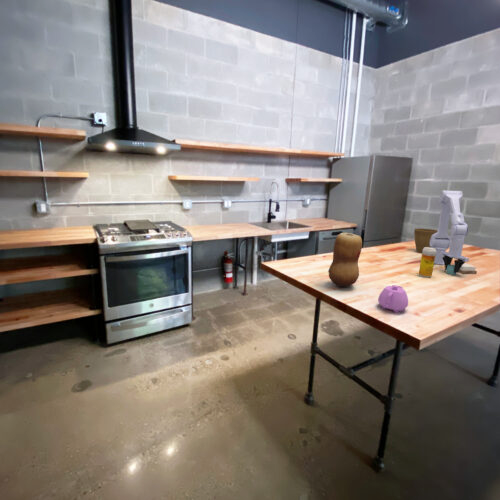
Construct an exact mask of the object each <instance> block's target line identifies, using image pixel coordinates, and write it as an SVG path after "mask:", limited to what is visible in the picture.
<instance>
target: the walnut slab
mask: <svg viewBox="0 0 500 500" xmlns="http://www.w3.org/2000/svg"><path fill="white" fill-rule="evenodd" d="M477 273H478V271H477V270H475V271H462V270H459V271H458V274H461V275H477Z"/></svg>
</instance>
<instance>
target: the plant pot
mask: <svg viewBox="0 0 500 500" xmlns="http://www.w3.org/2000/svg"><path fill="white" fill-rule="evenodd" d="M413 231H414V232H413V233H414V242H415V243H414V245H415V249H416V252H417V253H419V254H422V251H423V249H424V247H430V248H431V246H430V239H431V236H432V235H433V234H435V233H437V231H438V229H433V228H432V229H431V228H414V230H413Z"/></svg>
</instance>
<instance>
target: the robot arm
mask: <svg viewBox="0 0 500 500" xmlns="http://www.w3.org/2000/svg"><path fill="white" fill-rule="evenodd" d="M463 196H464V194H463V191H462V190H445V189H443V190H442V191H441V192H440V194H439V197H438V204H439V205H440V214H439V220H438V226H437V233H435V234H433V235H432V236H431V239H430V246H431V248H435V249H436V256H435V261H434V265H443V266H444V270H445V271H446V270H447V265H448V264H451V263H452V262H453V259H455V260H454V263H455V268H454V273H456V274H457V273H458V274H459V272H458V271H459V270H460V268H461V266H462V265H463V264H464V263H468V262H469V261H470V257H466V256H464V255H462V253H463V248H464V242H465V237H466V236H467V235H468V234H469V225H468V224H467V223H466V222H465V217H464V214H463V213H462V212H461V205H460V204H461V202H462V200H463ZM450 214H451V215H450ZM449 221H450V222H451V227H450V235H449V234H448V228H449ZM447 250H448V252H447ZM451 265H452V264H451Z"/></svg>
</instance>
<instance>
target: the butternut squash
mask: <svg viewBox="0 0 500 500" xmlns="http://www.w3.org/2000/svg"><path fill="white" fill-rule="evenodd" d="M362 240H363V239H362V237H361V236H360V235H357V234H354V233H350V232H340V233H339V234H338V235H336V238H335V240H334V244H333V245H334V246H333V251H332V252H333V254H332V261H331V263H330V266H329V268H328V271H327V272H328V277H329V280H330V281H331V282H332V283H333V284H334V286H336V287H342V288H343V287H345V288H346V287H349V286H352V285H354V284H355V283H357V281H358V279H359V276H360V269H359V259H360V256H361V253H362V249H363V241H362Z"/></svg>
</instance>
